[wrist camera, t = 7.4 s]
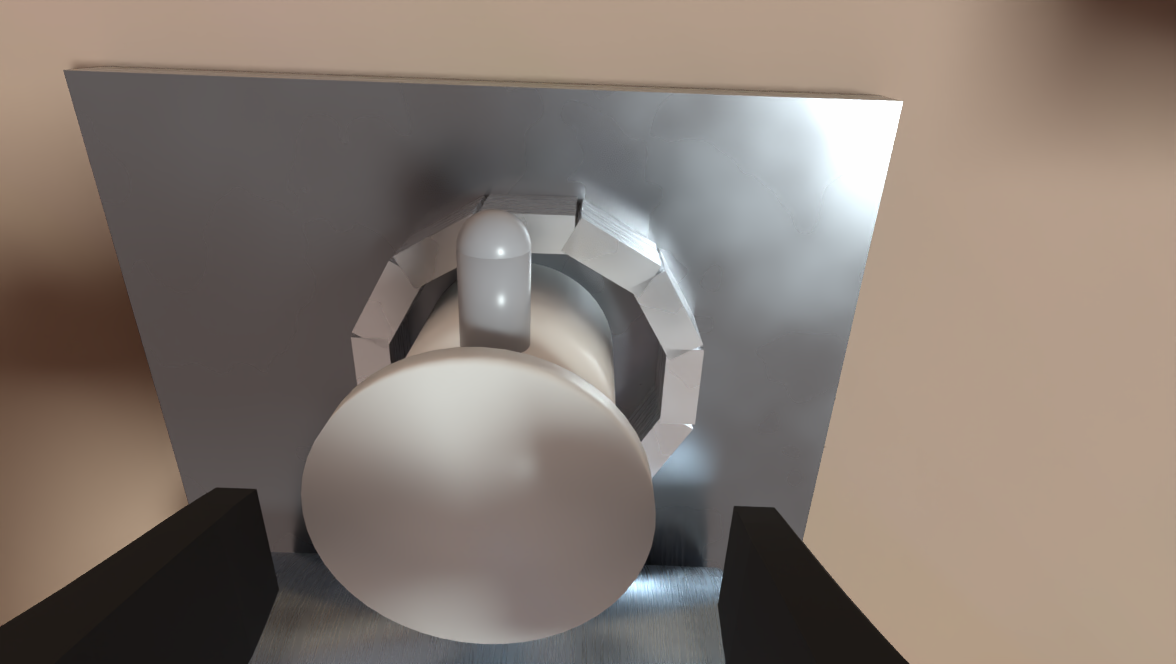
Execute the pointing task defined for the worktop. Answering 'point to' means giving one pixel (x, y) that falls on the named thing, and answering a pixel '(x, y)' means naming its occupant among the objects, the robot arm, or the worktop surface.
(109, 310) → the worktop surface
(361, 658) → the motor mount
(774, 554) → the robot arm
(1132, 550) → the worktop surface
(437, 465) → the white mushroom knob
